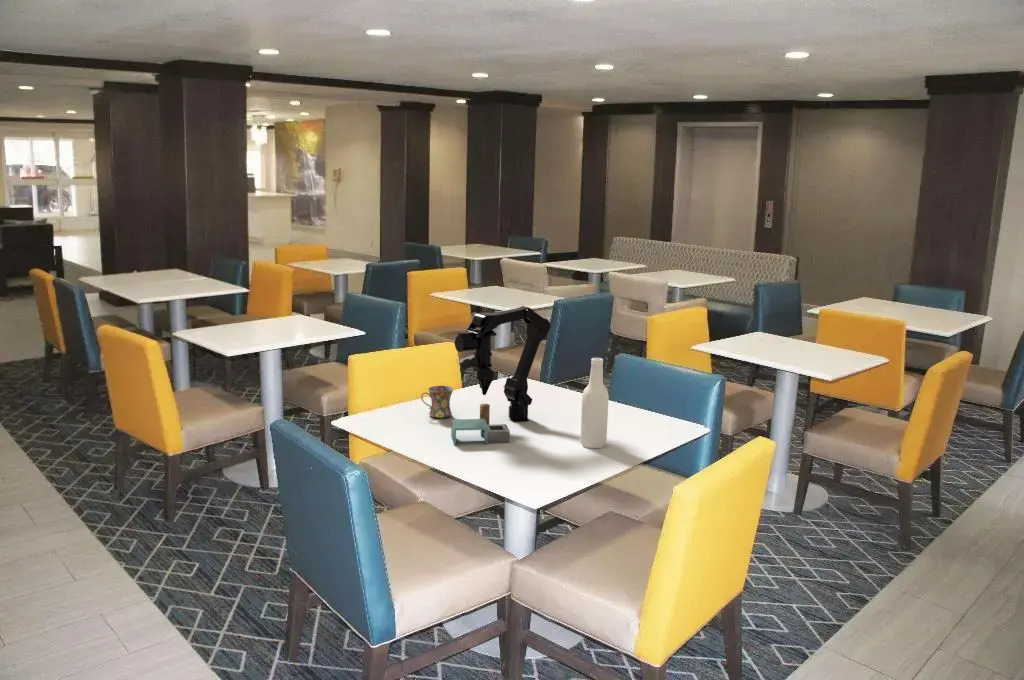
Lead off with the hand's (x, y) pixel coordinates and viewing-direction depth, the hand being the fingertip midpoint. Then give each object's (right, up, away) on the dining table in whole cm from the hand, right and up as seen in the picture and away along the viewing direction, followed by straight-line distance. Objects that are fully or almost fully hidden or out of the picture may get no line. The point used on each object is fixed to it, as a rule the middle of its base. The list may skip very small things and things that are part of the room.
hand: (482, 391), depth 298 cm
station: (-1, -16, -13) cm, 20 cm away
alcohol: (+38, -17, -15) cm, 45 cm away
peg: (+1, -13, +2) cm, 13 cm away
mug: (-18, -10, +13) cm, 24 cm away
